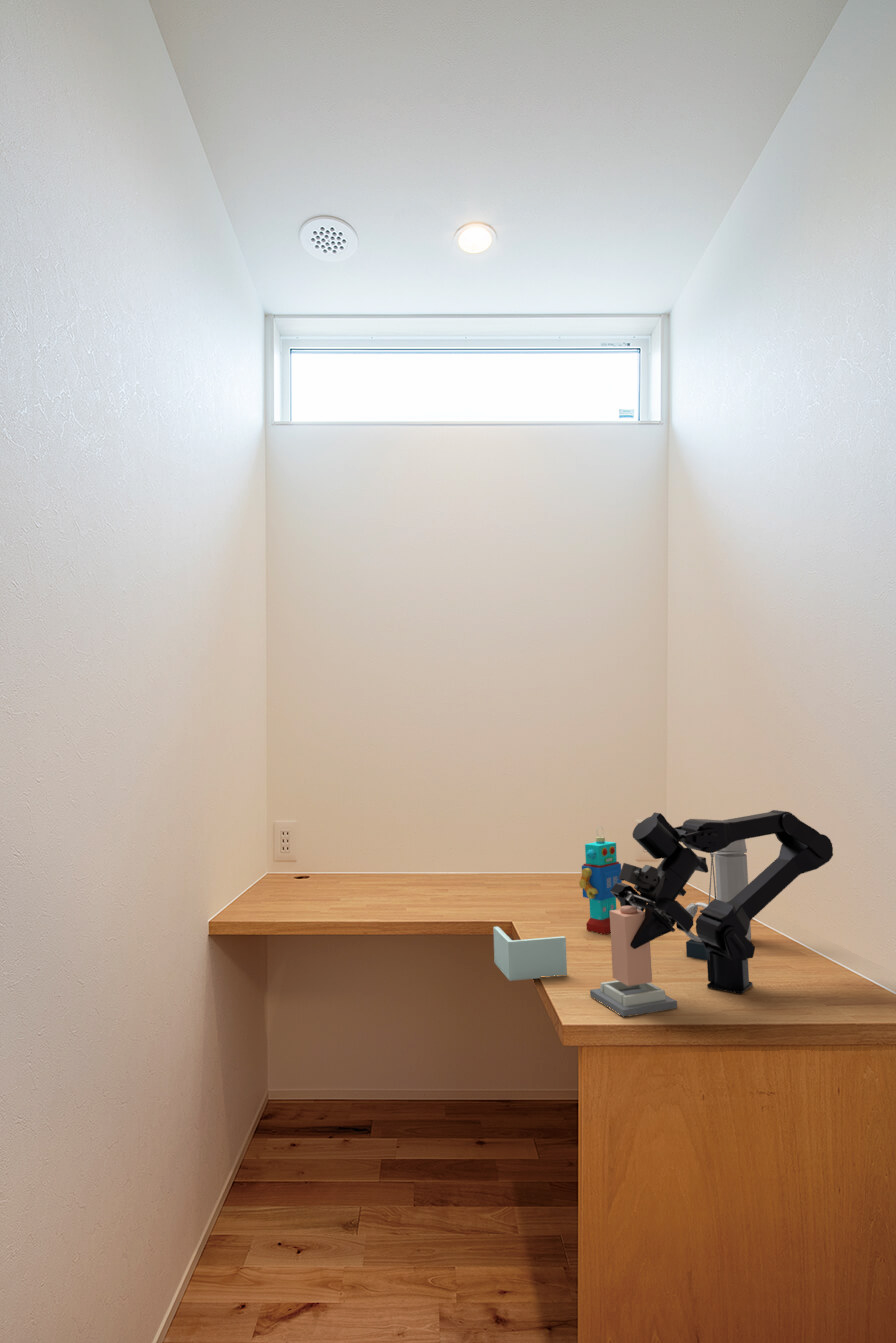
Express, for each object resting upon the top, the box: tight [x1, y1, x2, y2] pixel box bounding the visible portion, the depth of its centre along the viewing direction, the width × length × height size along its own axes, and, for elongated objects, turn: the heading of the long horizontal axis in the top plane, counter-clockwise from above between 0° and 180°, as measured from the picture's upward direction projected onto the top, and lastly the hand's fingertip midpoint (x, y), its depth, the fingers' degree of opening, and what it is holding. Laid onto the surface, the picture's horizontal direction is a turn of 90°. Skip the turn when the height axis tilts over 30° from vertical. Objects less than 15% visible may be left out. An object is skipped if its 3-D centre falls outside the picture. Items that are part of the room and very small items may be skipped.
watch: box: [684, 901, 711, 961], centre depth 162 cm, size 6×8×11 cm
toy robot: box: [578, 825, 623, 935], centre depth 186 cm, size 12×6×25 cm, turn 131°
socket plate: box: [589, 979, 678, 1017], centre depth 136 cm, size 11×11×3 cm
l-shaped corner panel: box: [492, 926, 568, 982], centre depth 156 cm, size 12×12×8 cm
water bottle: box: [707, 839, 752, 942], centre depth 174 cm, size 9×8×25 cm
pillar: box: [610, 905, 653, 986], centre depth 136 cm, size 5×5×13 cm
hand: (623, 943), depth 136 cm, fingers closed on pillar, 5 cm apart
